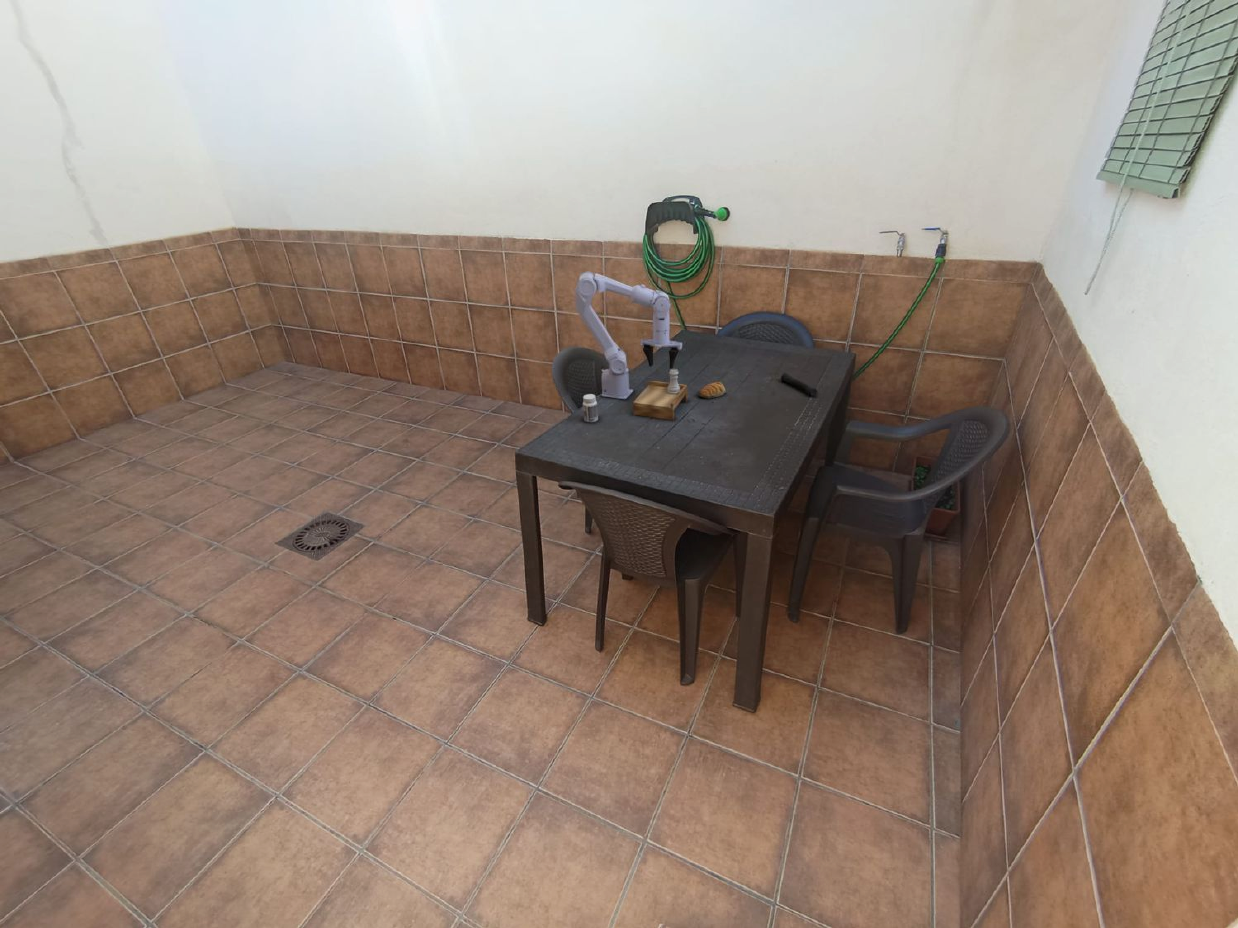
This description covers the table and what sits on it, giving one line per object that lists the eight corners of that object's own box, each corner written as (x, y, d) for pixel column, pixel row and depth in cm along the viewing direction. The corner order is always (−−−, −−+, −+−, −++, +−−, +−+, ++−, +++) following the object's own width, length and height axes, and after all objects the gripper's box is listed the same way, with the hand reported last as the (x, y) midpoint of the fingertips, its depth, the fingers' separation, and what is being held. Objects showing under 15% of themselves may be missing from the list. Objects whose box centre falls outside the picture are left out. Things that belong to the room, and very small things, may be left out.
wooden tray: (633, 414, 189) (632, 398, 186) (649, 395, 201) (649, 380, 198) (672, 420, 184) (673, 403, 181) (687, 400, 196) (687, 385, 193)
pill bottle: (600, 417, 188) (598, 394, 184) (595, 423, 184) (593, 400, 180) (587, 415, 189) (585, 392, 185) (581, 421, 186) (579, 398, 181)
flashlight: (787, 379, 209) (788, 372, 207) (817, 395, 196) (818, 387, 194) (780, 381, 208) (781, 373, 206) (810, 397, 195) (811, 389, 193)
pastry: (708, 401, 195) (708, 391, 193) (694, 395, 200) (694, 386, 198) (726, 393, 200) (727, 383, 198) (712, 388, 205) (713, 378, 203)
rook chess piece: (681, 390, 193) (682, 368, 189) (677, 395, 190) (677, 373, 186) (669, 388, 195) (669, 366, 191) (665, 393, 192) (665, 371, 187)
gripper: (637, 331, 191) (638, 368, 198) (677, 334, 186) (677, 373, 193) (644, 325, 196) (645, 361, 203) (684, 328, 191) (683, 366, 198)
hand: (661, 366), depth 198 cm, fingers open, 7 cm apart
